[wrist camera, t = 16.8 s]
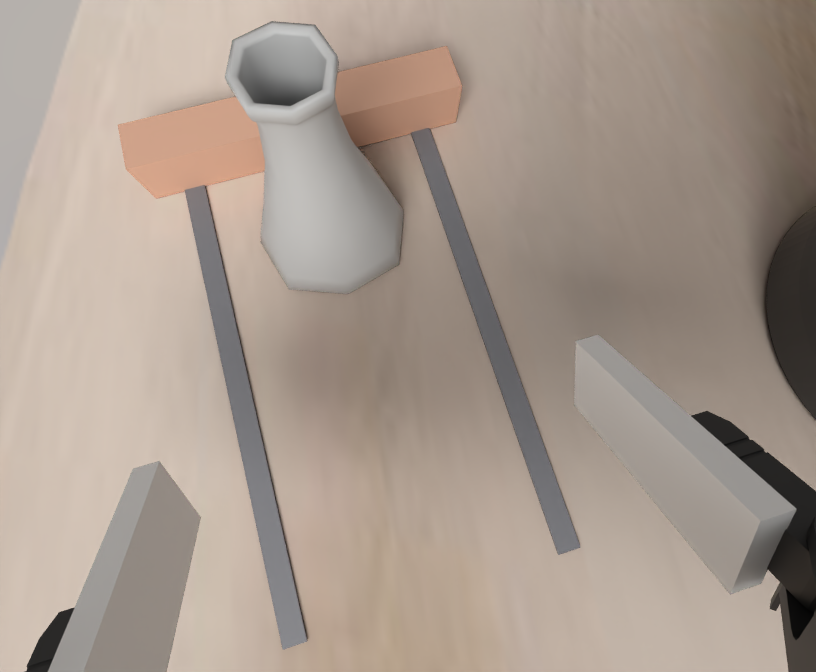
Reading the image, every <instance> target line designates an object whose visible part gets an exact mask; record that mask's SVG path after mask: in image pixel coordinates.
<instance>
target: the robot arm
mask: <svg viewBox="0 0 816 672" xmlns="http://www.w3.org/2000/svg"><path fill="white" fill-rule="evenodd" d="M767 316H768V323H769V329H770V333H771V338H772V341H773V345H774V348H775V351H776V354H777V356H778V359H779V362H780V364H781V366H782V368H783V371H784V373H785V375H786V377H787V378H788V380H789V382H790V384H791V386H792V387H793V389H794V391H795V392H796V394H797V395H798V397H799V398H800V400H801V401H802V403H803V404H804V405H805V407H806V408H807V409H808V411H809V412H810V413H811V414H812V415H813V417H814V418H815V419H816V206H815V207H813V208H812V209H810V210H809V211H808V212H807V213H805V214H804V215H803V216H802V217H801V218H800V219H799V220H798V221H797V222H796V223H795V224H794V225H793V226H792V227H791V228H790V230H789V231H788V232H787V234H786V235H785V237H784V238H783V240H782V242H781V243H780V245H779V247H778V249H777V252H776V254H775V256H774V259H773V262H772V265H771V269H770V273H769V278H768V285H767ZM574 406H575V407H576V408H577V409H578V410H579V412H580V413H581V414H582V415H583V416H584V418H585V419H586V420H587V421H588V423H589V424H590V425H591V426H592V427H593V429H594V430H595V431H596V432H597V433H598V435H599V436H600V437H601V438H602V440H603V441H604V442H605V443H606V444H607V446H608V447H609V448H610V449H611V450H612V452H613V453H614V454H615V455H616V457H617V458H618V459H619V460H620V461H621V463H622V464H623V465H624V466H625V467H626V469H627V470H628V471H629V472H630V473H631V475H632V476H633V477H634V478H635V480H636V481H637V482H638V483H639V484H640V486H641V487H642V488H643V489H644V490H645V492H646V493H647V494H648V495H649V497H650V498H651V499H652V500H653V501H654V503H655V504H656V505H657V506H658V507H659V509H660V510H661V511H662V512H663V514H664V515H665V516H666V517H667V518H668V520H669V521H670V522H671V523H672V524H673V526H674V527H675V528H676V529H677V531H678V532H679V533H680V534H681V535H682V537H683V538H684V539H685V540H686V541H687V543H688V544H689V545H690V546H691V548H692V549H693V550H694V551H695V552H696V554H697V555H698V556H699V557H700V558H701V560H702V561H703V562H704V563H705V565H706V566H707V567H708V568H709V569H710V571H711V572H712V573H713V574H714V575H715V577H716V578H717V579H718V580H719V582H720V583H721V584H722V585H723V586H724V588H725V589H726V590H727V591H728V592H729V594H733V593H735V592H738V591H741V590H744V589H747V588H750V587H753V586H756V585H759V584H761V583H762V580H763V578H764V576H765V574H766V572H767V570H769V571H770V572H771V573H772V574H773V575H774V576H775V577H776V578H777V579H778V580H779V581H780V584H779V586H778V587H777V589H776V591H775V593H774V595H773V597H772V599H771V604H770V609H772V610H775V611H776V610H777V608H778V606H779V604H780V606H781V614H782V622H783V630H784V638H785V646H786V654H787V662H788V670H789V672H816V491H815V490H813V489H812V488H811V487H810V486H809V485H807V484H806V483H805V482H804V481H802V480H801V479H800V478H799V477H797V476H796V475H795V474H794V473H793V472H791V471H790V470H789V469H788V468H786V467H785V466H784V465H783V464H781V463H780V462H779V461H778V460H777V459H775V458H774V457H773V456H772V455H770V454H769V453H768V452H767V453H766V452H765V451H764V449H763V448H762V447H761V446H759V445H758V444H757V443H756V442H754V441H753V440H750V439H749V437H748V436H747V435H746V434H745V433H743V432H742V431H741V430H740V429H738V428H737V427H736V426H735V425H733V424H732V423H731V422H730V421H727V420H725V419H723V418H721V417H719V416H717V415H715V414H712V413H710V412H708V411H705V412H702V413H699V414H695V415H692V416H690V415H689V414H688V413H687V412H686V411H685V410H683V409H682V408H681V407H680V406H679V405H678V404H677V403H676V402H674V401H673V400H672V399H671V398H670V397H669V396H668V395H666V394H665V393H664V392H663V391H662V390H661V389H660V388H658V387H657V386H656V385H655V384H654V383H653V382H652V381H651V380H649V379H648V378H647V377H646V376H645V375H644V374H643V373H641V372H640V371H639V370H638V369H637V368H636V367H635V366H633V365H632V364H631V363H630V362H629V361H628V360H627V359H625V358H624V357H623V356H622V355H621V354H620V353H619V352H618V351H616V350H615V349H614V348H613V347H612V346H611V345H610V344H608V343H607V342H606V341H605V340H604V339H603V338H602V337H600V336H599V335H595V336H592V337H588V338H585V339H581V340H578V341H576V353H575V394H574ZM200 519H201V517H200V515H199V514H198V513H197V511H196V510H195V509H194V507H193V506H192V505H191V503H190V502H189V501H188V499H187V498H186V497H185V495H184V494H183V492H182V491H181V490H180V488H179V487H178V486H177V484H176V483H175V482H174V480H173V479H172V478H171V476H170V475H169V473H168V472H167V471H166V469H165V468H164V467H163V465H162V464H161V463H160V461H158V462H155V463H151V464H148V465H144V466H141V467H138V468H134V469H133V470H132V473H131V475H130V477H129V480H128V482H127V485H126V487H125V489H124V492H123V494H122V496H121V499H120V501H119V504H118V506H117V508H116V511H115V513H114V515H113V518H112V520H111V523H110V525H109V527H108V530H107V532H106V534H105V537H104V539H103V542H102V544H101V546H100V549H99V551H98V553H97V556H96V558H95V561H94V563H93V565H92V568H91V570H90V573H89V575H88V577H87V580H86V582H85V584H84V587H83V589H82V592H81V594H80V596H79V599H78V601H77V603H76V606H75V608H71V609H68V610H65V611H62V612H59V613H58V615H57V616H56V617H55V619H54V620H53V621H52V623H51V624H50V625H49V627H48V628H47V629H46V631H45V632H44V633H43V635H42V636H41V637H40V639H39V641H38V643H37V645H36V647H35V649H34V651H33V654H32V656H31V658H30V660H29V662H28V664H27V671H25V672H167V667H168V663H169V658H170V654H171V649H172V645H173V640H174V636H175V631H176V627H177V622H178V618H179V613H180V609H181V604H182V600H183V595H184V591H185V586H186V582H187V577H188V573H189V568H190V564H191V559H192V555H193V550H194V546H195V541H196V537H197V532H198V528H199V523H200Z"/></svg>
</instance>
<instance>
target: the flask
mask: <svg viewBox="0 0 816 672" xmlns="http://www.w3.org/2000/svg"><path fill="white" fill-rule="evenodd" d="M338 66H339V61H338V57H337V55H336V53H335V52H334V51H333V49H332V48H331V46H330V45H329V44H328V42H327V41H326V39H325V38H324V36H323V35H322V34H321V32H320V31H319V29H318V28H317V27H316V25H311V24H299V23H286V22H274V21H271V22H269V23H267V24H265V25H263V26H261V27H259V28H257V29H255V30H253V31H250V32H248V33H246V34H244V35H242V36H240V37H238V38H236V39H234V40H232V45H231V50H230V55H229V60H228V65H227V70H226V74H225V79H226V81H227V84H228V85H229V87H230V88H231V90H232V91H233V93H234V95H235V96H236V98H237V99H238V101H239V102H240V104H241V105H242V107H243V109H244V110H245V112H246V113H247V115H248V116H249V118H250V119H251V120H252V121H254V122H256V123H257V125H258V129H259V134H260V139H261V144H262V149H263V154H264V159H265V175H264V205H263V215H262V226H261V244H262V245H263V247H264V249H265V250H266V252H267V254H268V255H269V257H270V259H271V260H272V262H273V264H274V265H275V267H276V269H277V270H278V272H279V274H280V275H281V277H282V279H283V280H284V282H285V284H286V285H287V287H288V288H289V289H293V290H305V291H317V292H330V293H342V294H349V293H351V292H353V291H354V290H356V289H358V288H360V287H361V286H363V285H365V284H366V283H368V282H370V281H372V280H373V279H375V278H377V277H378V276H380V275H382V274H383V273H385V272H387V271H389V270H390V269H392V268H394V267H395V266H397V265H399V259H400V248H401V237H402V226H403V214H404V211H403V209H402V208H401V206H400V205H399V203H398V202H397V200H396V199H395V198H394V196H393V195H392V193H391V192H390V190H389V189H388V187H387V186H386V184H385V183H384V182H383V180H382V179H381V177H380V176H379V174H378V173H377V171H376V170H375V168H374V167H373V166H372V164H371V163H370V162H369V160H368V159H367V158H366V157H365V156H364V155H363V153H362V152H361V151H360V150H359V149H358V148H357V146H356V145H355V144H354V143H353V141H352V140H351V138H350V136H349V134H348V131H347V129H346V127H345V125H344V122H343V120H342V118H341V116H340V113H339V111H338V108H337V103H336V99H335V89H336V81H337V74H338Z"/></svg>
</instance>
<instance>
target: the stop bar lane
mask: <svg viewBox="0 0 816 672" xmlns="http://www.w3.org/2000/svg"><path fill="white" fill-rule="evenodd" d="M461 90H462V84H461V81H460V79H459V76H458V74H457V71H456V68H455V66H454V63H453V61H452V58H451V56H450V53H449V50H448V48H447V46H444V47H440V48H436V49H432V50H428V51H423V52H419V53H415V54H411V55H407V56H403V57H398V58H394V59H390V60H386V61H382V62H378V63H373V64H369V65H365V66H361V67H357V68H353V69H348V70H344V71H340V72H338V74H337V81H336V89H335V99H336V103H337V108H338V111H339V113H340V116H341V118H342V120H343V122H344V125H345V127H346V129H347V131H348V134H349V136H350V138H351V140H352V141H353V143H354V144H355V145H356V146H357V147H360V146H364V145H368V144H372V143H376V142H380V141H384V140H388V139H392V138H396V137H400V136H404V135H407V134H412V137H413V140H414V143H415V146H416V149H417V152H418V155H419V157H420V160H421V163H422V166H423V169H424V172H425V175H426V177H427V180H428V183H429V186H430V189H431V192H432V195H433V197H434V200H435V203H436V206H437V209H438V212H439V215H440V218H441V220H442V223H443V226H444V229H445V232H446V235H447V238H448V240H449V243H450V246H451V249H452V252H453V255H454V258H455V261H456V263H457V266H458V269H459V272H460V275H461V278H462V281H463V283H464V286H465V289H466V292H467V295H468V298H469V301H470V303H471V306H472V309H473V312H474V315H475V318H476V321H477V324H478V326H479V329H480V332H481V335H482V338H483V341H484V344H485V346H486V349H487V352H488V355H489V358H490V361H491V364H492V367H493V369H494V372H495V375H496V378H497V381H498V384H499V387H500V389H501V392H502V395H503V398H504V401H505V404H506V407H507V409H508V412H509V415H510V418H511V421H512V424H513V427H514V430H515V432H516V435H517V438H518V441H519V444H520V447H521V450H522V452H523V455H524V458H525V461H526V464H527V467H528V470H529V473H530V475H531V478H532V481H533V484H534V487H535V490H536V493H537V495H538V498H539V501H540V504H541V507H542V510H543V513H544V515H545V518H546V521H547V524H548V527H549V530H550V533H551V536H552V538H553V541H554V544H555V547H556V550H557V553H558V555H560V554H563V553H565V552H568V551H571V550H574V549H577V548H580V544H579V542H578V539H577V536H576V533H575V530H574V528H573V525H572V522H571V519H570V517H569V514H568V511H567V508H566V506H565V503H564V500H563V497H562V494H561V492H560V489H559V486H558V483H557V481H556V478H555V475H554V472H553V469H552V467H551V464H550V461H549V458H548V456H547V453H546V450H545V447H544V445H543V442H542V439H541V436H540V433H539V431H538V428H537V425H536V422H535V420H534V417H533V414H532V411H531V408H530V406H529V403H528V400H527V397H526V395H525V392H524V389H523V386H522V383H521V381H520V378H519V375H518V372H517V370H516V367H515V364H514V361H513V359H512V356H511V353H510V350H509V347H508V345H507V342H506V339H505V336H504V334H503V331H502V328H501V325H500V322H499V320H498V317H497V314H496V311H495V309H494V306H493V303H492V300H491V298H490V295H489V292H488V289H487V286H486V284H485V281H484V278H483V275H482V273H481V270H480V267H479V264H478V261H477V259H476V256H475V253H474V250H473V248H472V245H471V242H470V239H469V237H468V234H467V231H466V228H465V225H464V223H463V220H462V217H461V214H460V212H459V209H458V206H457V203H456V200H455V198H454V195H453V192H452V189H451V187H450V184H449V181H448V178H447V175H446V173H445V170H444V167H443V164H442V162H441V159H440V156H439V153H438V151H437V148H436V145H435V142H434V139H433V137H432V134H431V131H430V129H431V128H435V127H439V126H443V125H447V124H451V123H455V122H456V119H457V113H458V107H459V101H460V96H461ZM118 129H119V134H120V140H121V145H122V151H123V156H124V162H125V167H126V170H127V171H128V172H129V173H130V174H131V175H132V176H133V177H134V178H135V179H136V180H137V181H139V182H140V183H141V184H142V185H143V186H144V187H145V188H146V189H147V190H148V191H149V192H150V193H151V194H152V195H153V196H154V197H155V198H160V197H164V196H168V195H172V194H176V193H180V192H184V191H185V194H186V198H187V203H188V208H189V212H190V217H191V222H192V227H193V231H194V236H195V241H196V245H197V250H198V255H199V259H200V264H201V269H202V273H203V278H204V283H205V287H206V292H207V297H208V301H209V306H210V311H211V316H212V320H213V325H214V330H215V334H216V339H217V344H218V348H219V353H220V358H221V362H222V367H223V372H224V376H225V381H226V386H227V391H228V395H229V400H230V405H231V409H232V414H233V419H234V423H235V428H236V433H237V437H238V442H239V447H240V451H241V456H242V461H243V465H244V470H245V475H246V480H247V484H248V489H249V494H250V498H251V503H252V508H253V512H254V517H255V522H256V526H257V531H258V536H259V540H260V545H261V550H262V555H263V559H264V564H265V569H266V573H267V578H268V583H269V587H270V592H271V597H272V601H273V606H274V611H275V615H276V620H277V625H278V630H279V634H280V639H281V644H282V648H283V649H286V648H289V647H292V646H295V645H298V644H301V643H304V642H307V636H306V632H305V627H304V623H303V618H302V614H301V609H300V605H299V601H298V596H297V592H296V587H295V583H294V578H293V574H292V569H291V565H290V561H289V556H288V552H287V547H286V543H285V538H284V534H283V529H282V525H281V521H280V516H279V512H278V507H277V503H276V498H275V494H274V490H273V485H272V481H271V476H270V472H269V467H268V463H267V458H266V454H265V450H264V445H263V441H262V436H261V432H260V427H259V423H258V418H257V414H256V410H255V405H254V401H253V396H252V392H251V387H250V383H249V378H248V374H247V370H246V365H245V361H244V356H243V352H242V347H241V343H240V339H239V334H238V330H237V325H236V321H235V316H234V312H233V307H232V303H231V299H230V294H229V290H228V285H227V281H226V276H225V272H224V267H223V263H222V259H221V254H220V250H219V245H218V241H217V236H216V232H215V227H214V223H213V219H212V214H211V210H210V205H209V201H208V196H207V192H206V188H205V186H207V185H211V184H215V183H219V182H223V181H227V180H231V179H235V178H239V177H243V176H247V175H250V174H254V173H258V172H262V171H265V159H264V154H263V149H262V144H261V139H260V134H259V129H258V125H257V123H256V122H254V121H252V120H251V119H250V118H249V116H248V115H247V113H246V112H245V110H244V109H243V107H242V105H241V104H240V102H239V101H238V99H237V98H236V97H232V98H228V99H223V100H219V101H215V102H211V103H207V104H203V105H198V106H194V107H190V108H186V109H182V110H177V111H173V112H169V113H165V114H161V115H157V116H152V117H148V118H144V119H140V120H136V121H132V122H127V123H123V124H119V125H118Z"/></svg>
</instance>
